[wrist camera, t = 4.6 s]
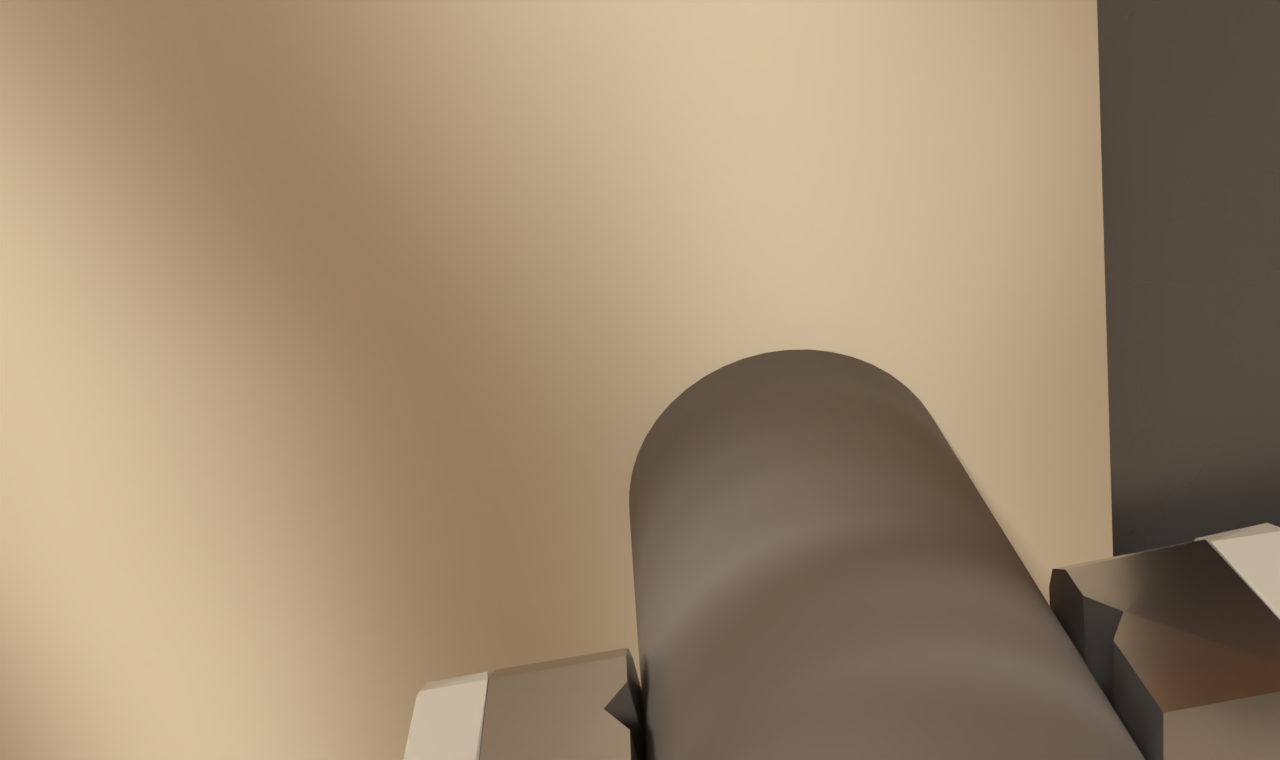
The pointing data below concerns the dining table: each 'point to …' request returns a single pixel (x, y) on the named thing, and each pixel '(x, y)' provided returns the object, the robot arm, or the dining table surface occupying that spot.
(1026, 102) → the beige knobbed block
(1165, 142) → the bay
